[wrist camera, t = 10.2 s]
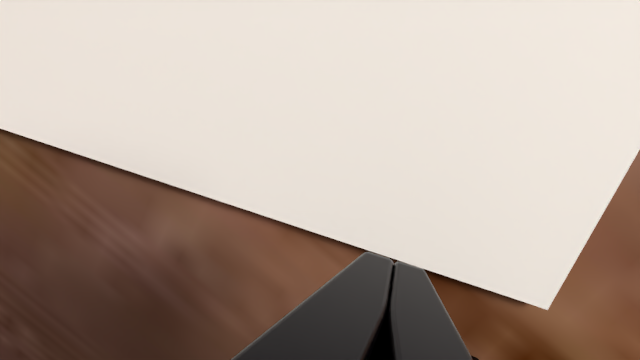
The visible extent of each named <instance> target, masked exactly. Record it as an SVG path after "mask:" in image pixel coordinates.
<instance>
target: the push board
mask: <svg viewBox="0 0 640 360" xmlns="http://www.w3.org/2000/svg"><path fill="white" fill-rule="evenodd" d="M0 129H3V130H6V131H9V132H12V133H15V134H18V135H21V136H24V137H27V138H30V139H33V140H36V141H39V142H42V143H45V144H48V145H51V146H54V147H57V148H61V149H64V150H67V151H70V152H73V153H76V154H79V155H82V156H85V157H88V158H91V159H94V160H97V161H100V162H103V163H106V164H109V165H112V166H115V167H118V168H121V169H124V170H127V171H130V172H133V173H136V174H139V175H142V176H145V177H148V178H151V179H154V180H157V181H160V182H163V183H166V184H169V185H172V186H175V187H178V188H181V189H184V190H187V191H190V192H193V193H196V194H199V195H202V196H205V197H208V198H211V199H214V200H217V201H220V202H223V203H227V204H230V205H233V206H236V207H239V208H242V209H245V210H248V211H251V212H254V213H257V214H260V215H263V216H266V217H269V218H272V219H275V220H278V221H281V222H284V223H287V224H290V225H293V226H296V227H299V228H302V229H305V230H308V231H311V232H314V233H317V234H320V235H323V236H326V237H329V238H332V239H335V240H338V241H341V242H344V243H347V244H350V245H353V246H356V247H359V248H362V249H365V250H368V251H371V252H374V253H377V254H380V255H383V256H386V257H389V258H393V259H396V260H399V261H402V262H405V263H408V264H411V265H414V266H417V267H420V268H423V269H426V270H429V271H432V272H435V273H438V274H441V275H444V276H447V277H450V278H453V279H456V280H459V281H462V282H465V283H468V284H471V285H474V286H477V287H480V288H483V289H486V290H489V291H492V292H495V293H498V294H501V295H504V296H507V297H510V298H513V299H516V300H519V301H522V302H525V303H528V304H531V305H534V306H537V307H540V308H543V309H546V310H548V308H549V306H550V305H551V303H552V301H553V300H554V298H555V296H556V294H557V293H558V291H559V289H560V287H561V286H562V284H563V282H564V280H565V279H566V277H567V275H568V273H569V272H570V270H571V268H572V266H573V265H574V263H575V261H576V259H577V258H578V256H579V254H580V252H581V251H582V249H583V247H584V246H585V244H586V242H587V240H588V239H589V237H590V235H591V233H592V232H593V230H594V228H595V226H596V225H597V223H598V221H599V219H600V218H601V216H602V214H603V212H604V211H605V209H606V207H607V205H608V204H609V202H610V200H611V198H612V197H613V195H614V193H615V191H616V190H617V188H618V186H619V185H620V183H621V181H622V179H623V178H624V176H625V174H626V172H627V171H628V169H629V167H630V165H631V164H632V162H633V160H634V158H635V157H636V155H637V153H638V151H639V150H640V0H0Z"/></svg>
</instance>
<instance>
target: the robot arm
mask: <svg viewBox="0 0 640 360" xmlns="http://www.w3.org/2000/svg"><path fill="white" fill-rule="evenodd" d="M231 360H479V359H477V358H475V357H473V356H471V355H470V353H469V351H468V350H467V348H466V346H465V344H464V342H463V340H462V338H461V337H460V335H459V333H458V331H457V329H456V327H455V325H454V324H453V322H452V320H451V318H450V316H449V314H448V313H447V311H446V309H445V307H444V305H443V303H442V301H441V300H440V298H439V296H438V294H437V292H436V290H435V288H434V287H433V285H432V283H431V281H430V279H429V277H428V275H427V274H426V272H425V271H424V270H423V269H422V268H419V267H416V266H413V265H409V264H406V263H403V262H396V263H394V265H393V261H392V260H391V259H390V258H386V257H383V256H380V255H377V254H373V253H370V252H365V253H363V254H362V255H361V256H359V257H358V258H357V259H356V260H354V261H353V262H352V263H351V264H349V265H348V266H347V267H346V268H344V269H343V270H342V271H341V272H339V273H338V274H337V275H336V276H334V277H333V278H332V279H331V280H329V281H328V282H327V283H326V284H324V285H323V286H322V287H321V288H319V289H318V290H317V291H316V292H314V293H313V294H312V295H311V296H309V297H308V298H307V299H306V300H304V301H303V302H302V303H301V304H299V305H298V306H297V307H296V308H294V309H293V310H292V311H291V312H289V313H288V314H287V315H286V316H284V317H283V318H282V319H281V320H279V321H278V322H277V323H276V324H274V325H273V326H272V327H271V328H269V329H268V330H267V331H266V332H264V333H263V334H262V335H261V336H259V337H258V338H257V339H256V340H254V341H253V342H252V343H251V344H249V345H248V346H247V347H246V348H244V349H243V350H242V351H241V352H239V353H238V354H237V355H236V356H234V357H233V358H232V359H231Z"/></svg>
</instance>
